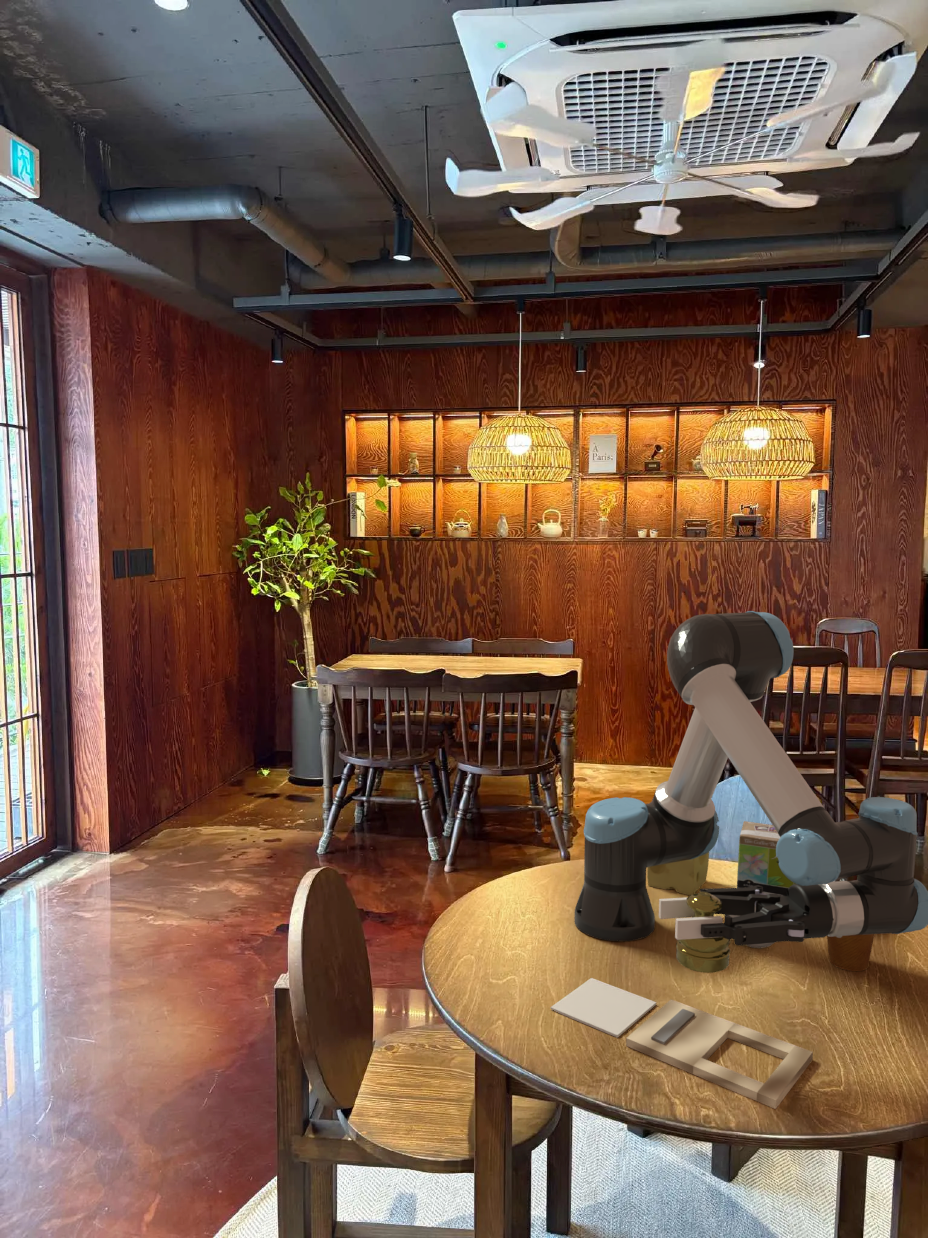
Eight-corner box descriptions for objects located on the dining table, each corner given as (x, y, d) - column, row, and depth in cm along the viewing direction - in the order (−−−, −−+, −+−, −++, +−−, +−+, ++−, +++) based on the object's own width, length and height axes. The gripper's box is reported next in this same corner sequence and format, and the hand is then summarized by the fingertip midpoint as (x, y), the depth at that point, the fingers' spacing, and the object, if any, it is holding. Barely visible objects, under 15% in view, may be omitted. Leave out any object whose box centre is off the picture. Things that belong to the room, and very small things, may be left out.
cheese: (694, 897, 181) (695, 850, 180) (644, 886, 187) (644, 840, 186) (709, 880, 190) (710, 835, 189) (660, 870, 195) (661, 826, 194)
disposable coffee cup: (885, 979, 148) (888, 910, 146) (824, 973, 150) (827, 905, 148) (870, 952, 157) (873, 887, 156) (814, 947, 159) (816, 883, 158)
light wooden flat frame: (625, 1046, 128) (626, 1035, 128) (670, 1006, 139) (670, 997, 139) (775, 1109, 114) (775, 1097, 114) (812, 1060, 125) (812, 1049, 125)
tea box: (735, 906, 177) (737, 834, 175) (740, 887, 186) (742, 819, 184) (816, 918, 171) (819, 844, 169) (816, 898, 180) (819, 828, 179)
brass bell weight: (666, 952, 128) (668, 886, 127) (711, 946, 130) (713, 881, 129) (692, 977, 121) (694, 908, 120) (740, 970, 123) (742, 901, 122)
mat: (550, 1009, 138) (550, 1007, 138) (591, 980, 147) (591, 978, 147) (617, 1038, 130) (617, 1035, 130) (656, 1004, 140) (656, 1002, 140)
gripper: (857, 966, 119) (692, 977, 116) (788, 907, 137) (645, 915, 134) (860, 913, 118) (694, 923, 115) (790, 860, 136) (646, 867, 133)
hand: (668, 918), depth 124 cm, fingers closed on brass bell weight, 6 cm apart
